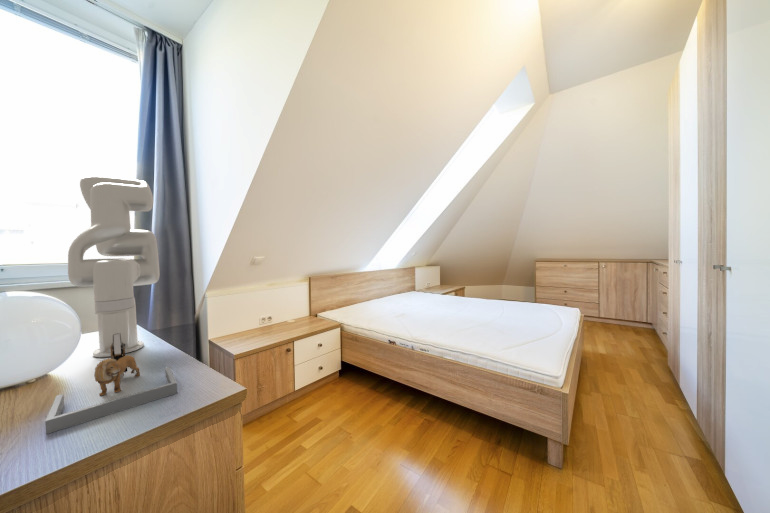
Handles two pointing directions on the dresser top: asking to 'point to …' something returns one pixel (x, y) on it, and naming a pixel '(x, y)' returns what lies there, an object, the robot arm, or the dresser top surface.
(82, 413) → the box
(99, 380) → the lion figurine
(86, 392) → the dresser top surface
